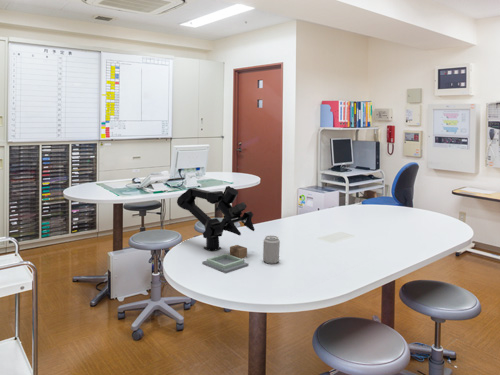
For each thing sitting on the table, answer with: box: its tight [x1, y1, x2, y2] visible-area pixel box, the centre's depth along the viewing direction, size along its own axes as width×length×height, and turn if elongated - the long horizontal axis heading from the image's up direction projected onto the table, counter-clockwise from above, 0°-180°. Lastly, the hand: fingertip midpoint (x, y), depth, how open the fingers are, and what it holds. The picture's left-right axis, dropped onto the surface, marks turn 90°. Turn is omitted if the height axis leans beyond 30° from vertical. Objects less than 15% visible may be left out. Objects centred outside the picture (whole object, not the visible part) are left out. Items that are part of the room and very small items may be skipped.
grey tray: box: [201, 253, 249, 274], centre depth 189 cm, size 16×14×2 cm
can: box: [262, 235, 281, 265], centre depth 194 cm, size 8×8×12 cm
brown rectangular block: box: [229, 244, 248, 259], centre depth 201 cm, size 7×5×4 cm
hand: (247, 232), depth 194 cm, fingers open, 9 cm apart
